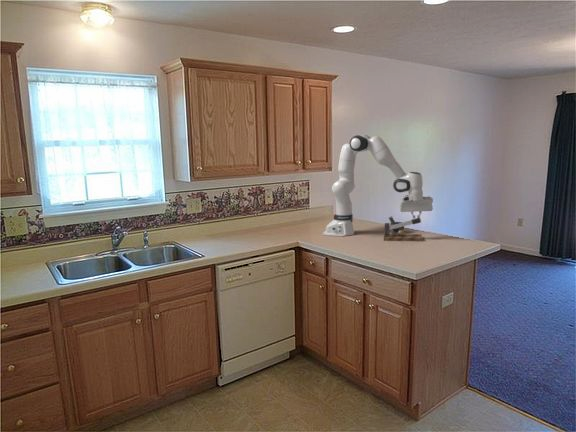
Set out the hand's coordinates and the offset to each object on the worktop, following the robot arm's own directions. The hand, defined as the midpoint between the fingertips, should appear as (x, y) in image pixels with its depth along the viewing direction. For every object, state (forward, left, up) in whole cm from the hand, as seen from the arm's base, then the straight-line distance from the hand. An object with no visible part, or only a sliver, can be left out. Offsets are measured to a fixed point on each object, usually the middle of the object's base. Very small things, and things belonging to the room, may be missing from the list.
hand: (416, 218), depth 267 cm
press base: (-8, 0, -14) cm, 16 cm away
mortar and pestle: (-12, +19, -14) cm, 27 cm away
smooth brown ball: (-9, 0, -12) cm, 15 cm away
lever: (-7, 0, -5) cm, 9 cm away
